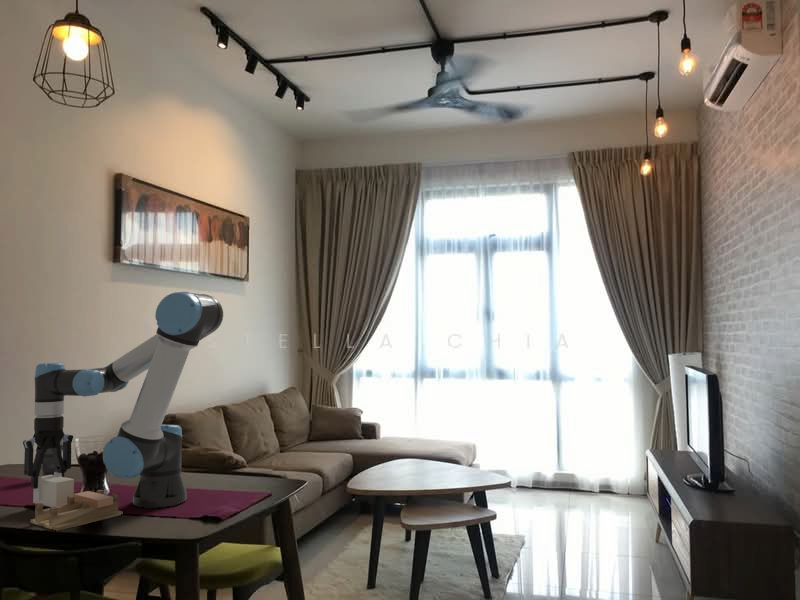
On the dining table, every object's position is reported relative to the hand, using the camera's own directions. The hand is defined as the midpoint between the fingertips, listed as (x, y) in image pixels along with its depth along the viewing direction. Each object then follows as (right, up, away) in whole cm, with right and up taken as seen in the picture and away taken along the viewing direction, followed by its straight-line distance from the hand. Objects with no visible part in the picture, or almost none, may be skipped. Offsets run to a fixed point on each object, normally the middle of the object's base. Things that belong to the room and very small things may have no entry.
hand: (47, 497), depth 186 cm
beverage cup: (-18, -5, +35) cm, 40 cm away
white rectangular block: (+3, -1, -2) cm, 3 cm away
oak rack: (+14, -2, -11) cm, 18 cm away
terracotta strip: (+16, +1, -7) cm, 18 cm away
